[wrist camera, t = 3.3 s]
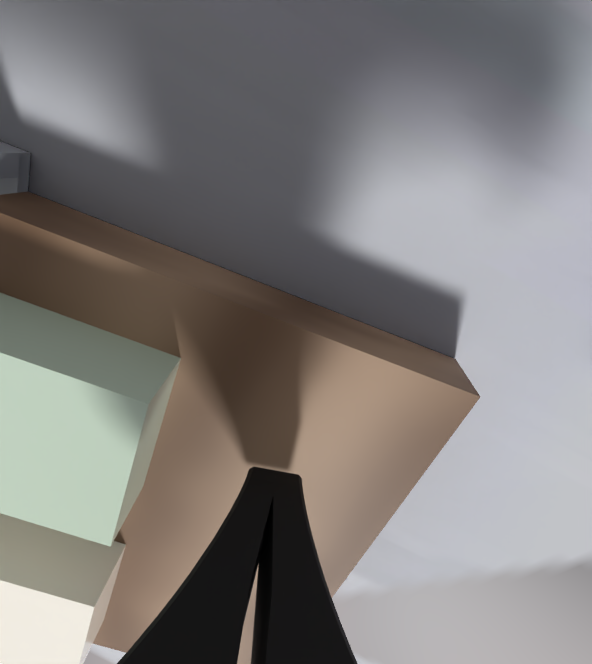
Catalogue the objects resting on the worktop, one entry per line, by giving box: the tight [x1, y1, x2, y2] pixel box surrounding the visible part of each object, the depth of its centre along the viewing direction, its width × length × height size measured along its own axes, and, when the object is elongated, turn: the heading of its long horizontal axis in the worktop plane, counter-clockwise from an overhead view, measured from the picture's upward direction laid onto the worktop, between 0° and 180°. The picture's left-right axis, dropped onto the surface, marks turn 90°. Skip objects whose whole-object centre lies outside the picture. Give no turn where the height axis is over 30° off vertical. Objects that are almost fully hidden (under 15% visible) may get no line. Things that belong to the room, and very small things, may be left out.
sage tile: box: [0, 293, 181, 547], centre depth 10 cm, size 5×5×2 cm
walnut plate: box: [0, 192, 480, 664], centre depth 13 cm, size 13×17×2 cm
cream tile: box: [0, 513, 126, 664], centre depth 13 cm, size 5×5×2 cm
